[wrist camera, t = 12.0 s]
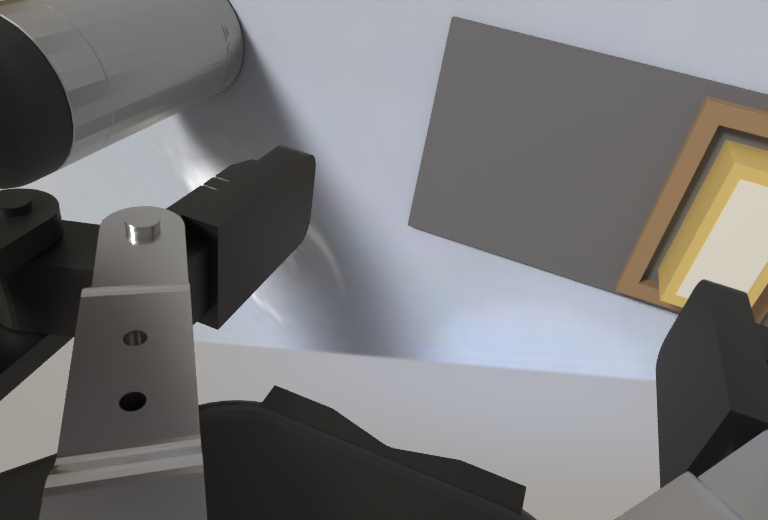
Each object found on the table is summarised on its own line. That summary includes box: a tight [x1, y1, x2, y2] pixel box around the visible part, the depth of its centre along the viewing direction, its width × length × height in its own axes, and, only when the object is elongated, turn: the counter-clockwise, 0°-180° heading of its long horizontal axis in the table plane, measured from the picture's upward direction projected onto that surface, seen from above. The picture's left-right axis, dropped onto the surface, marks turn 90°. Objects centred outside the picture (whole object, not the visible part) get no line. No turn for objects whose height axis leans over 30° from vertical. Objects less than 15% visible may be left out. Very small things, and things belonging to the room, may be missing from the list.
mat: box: [408, 17, 768, 327], centre depth 40 cm, size 28×16×2 cm, turn 80°
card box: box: [658, 140, 768, 308], centre depth 37 cm, size 10×5×4 cm, turn 170°
